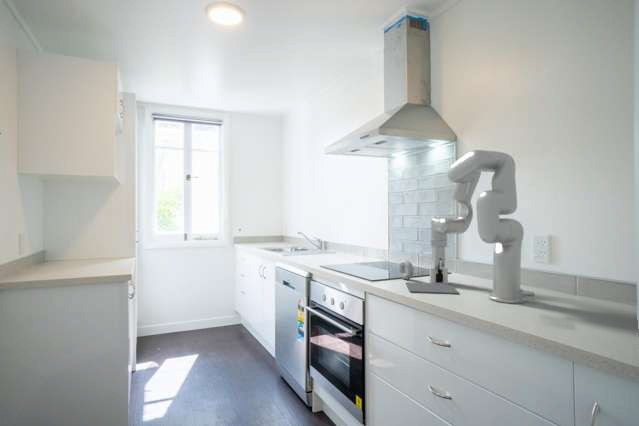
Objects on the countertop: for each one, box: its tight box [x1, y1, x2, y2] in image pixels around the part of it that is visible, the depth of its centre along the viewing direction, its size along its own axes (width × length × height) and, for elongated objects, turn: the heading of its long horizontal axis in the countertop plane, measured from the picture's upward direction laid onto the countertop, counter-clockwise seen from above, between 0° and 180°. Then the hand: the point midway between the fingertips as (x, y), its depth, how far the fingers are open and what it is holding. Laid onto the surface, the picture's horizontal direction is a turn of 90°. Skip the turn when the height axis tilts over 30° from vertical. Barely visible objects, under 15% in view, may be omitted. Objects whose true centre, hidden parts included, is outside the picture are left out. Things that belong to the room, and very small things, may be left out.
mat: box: [405, 281, 460, 295], centre depth 163 cm, size 20×20×1 cm
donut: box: [397, 259, 415, 280], centre depth 185 cm, size 10×4×10 cm, turn 27°
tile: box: [429, 267, 449, 284], centre depth 177 cm, size 8×2×7 cm, turn 82°
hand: (438, 281), depth 177 cm, fingers open, 3 cm apart
